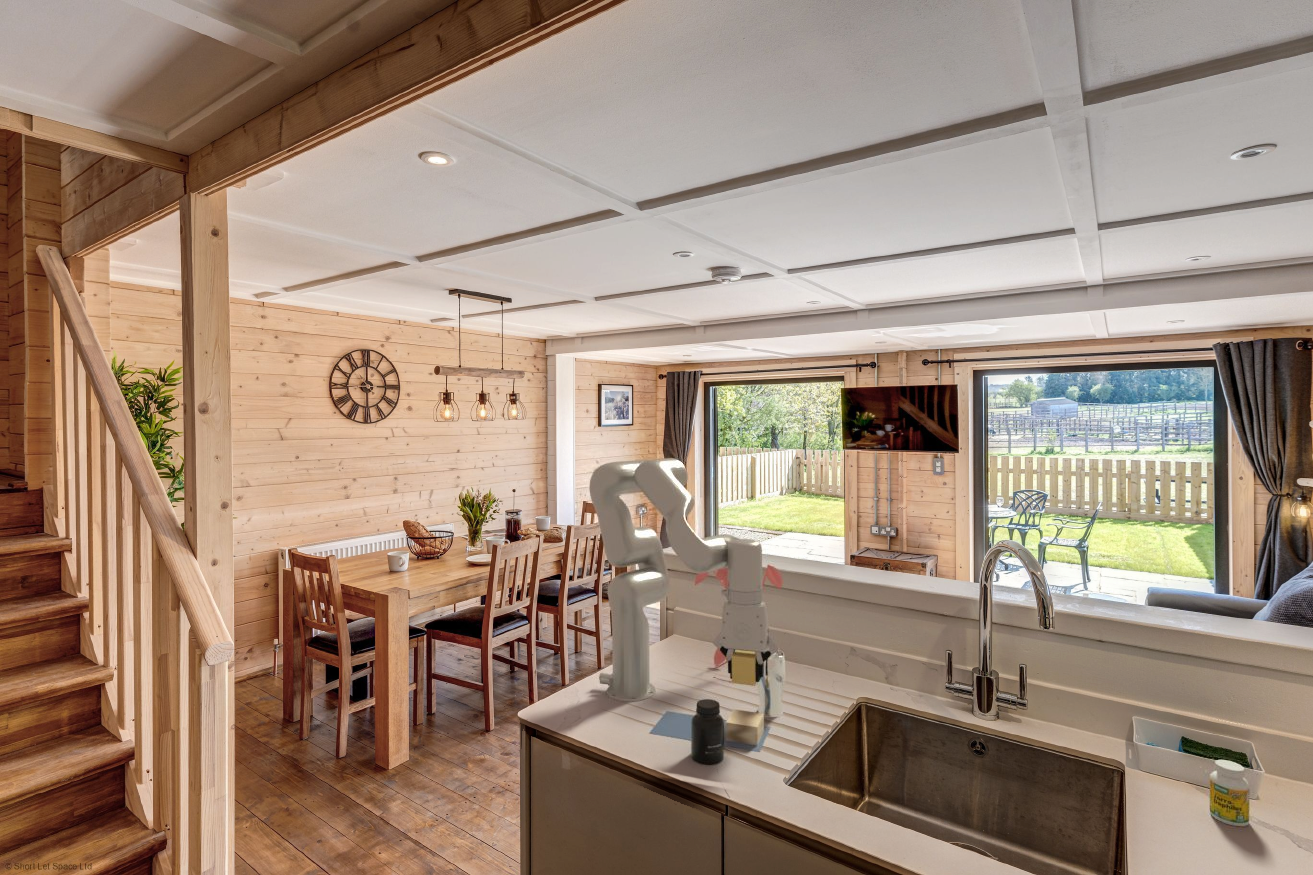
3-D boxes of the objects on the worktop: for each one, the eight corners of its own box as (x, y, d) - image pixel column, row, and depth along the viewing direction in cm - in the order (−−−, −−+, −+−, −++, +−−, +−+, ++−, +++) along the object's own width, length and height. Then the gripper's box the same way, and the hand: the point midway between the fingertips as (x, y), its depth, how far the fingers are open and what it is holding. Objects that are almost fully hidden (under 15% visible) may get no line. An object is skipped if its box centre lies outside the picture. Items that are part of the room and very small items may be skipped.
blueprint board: (648, 736, 151) (648, 733, 151) (666, 714, 163) (666, 710, 163) (759, 755, 143) (759, 751, 143) (770, 730, 154) (770, 727, 154)
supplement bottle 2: (1250, 818, 120) (1251, 764, 119) (1247, 831, 116) (1249, 776, 116) (1211, 805, 124) (1212, 754, 123) (1207, 818, 120) (1208, 765, 119)
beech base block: (725, 740, 148) (725, 722, 148) (733, 726, 154) (733, 709, 154) (757, 745, 145) (757, 727, 145) (763, 731, 152) (763, 713, 152)
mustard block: (732, 682, 148) (731, 655, 148) (737, 674, 152) (737, 648, 152) (754, 685, 146) (754, 658, 146) (759, 677, 151) (759, 650, 150)
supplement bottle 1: (714, 772, 136) (714, 713, 136) (685, 763, 140) (685, 705, 139) (729, 757, 142) (729, 701, 142) (701, 749, 146) (700, 694, 145)
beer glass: (785, 722, 158) (785, 659, 157) (754, 720, 159) (754, 657, 159) (785, 709, 165) (785, 648, 164) (756, 707, 166) (756, 647, 166)
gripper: (703, 597, 148) (703, 679, 149) (780, 604, 142) (781, 689, 143) (712, 589, 155) (713, 667, 156) (786, 595, 149) (787, 676, 150)
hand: (745, 677), depth 149 cm, fingers closed on mustard block, 5 cm apart
